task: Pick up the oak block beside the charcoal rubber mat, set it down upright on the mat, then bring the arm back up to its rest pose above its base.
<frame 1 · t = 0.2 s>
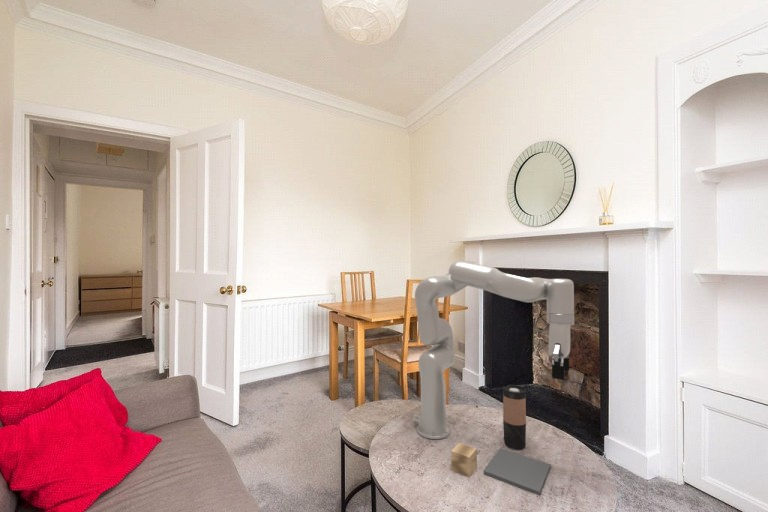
hand: (560, 374, 103), 31 cm above the table, tool pointing down, fingers open, 9 cm apart
oak block: (464, 468, 106), on the table
charcoal mat: (517, 470, 105), on the table
travel mug: (514, 445, 120), on the table
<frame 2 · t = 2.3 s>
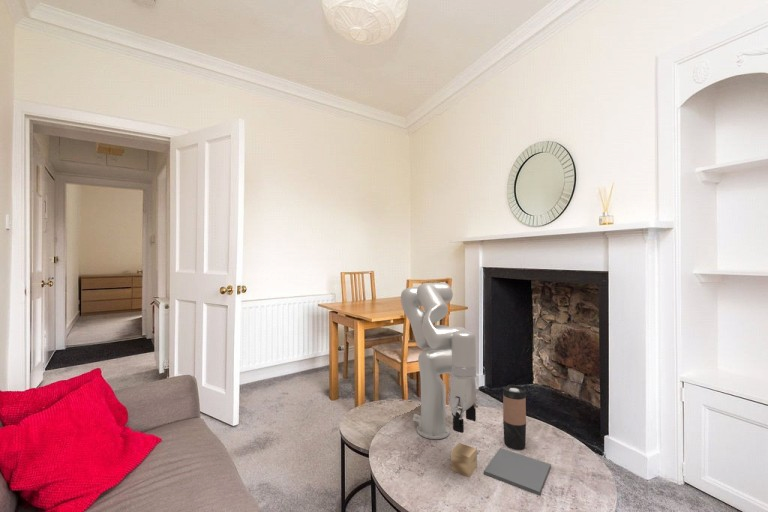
hand: (464, 425, 106), 14 cm above the table, tool pointing down, fingers open, 9 cm apart
nothing on the table moved.
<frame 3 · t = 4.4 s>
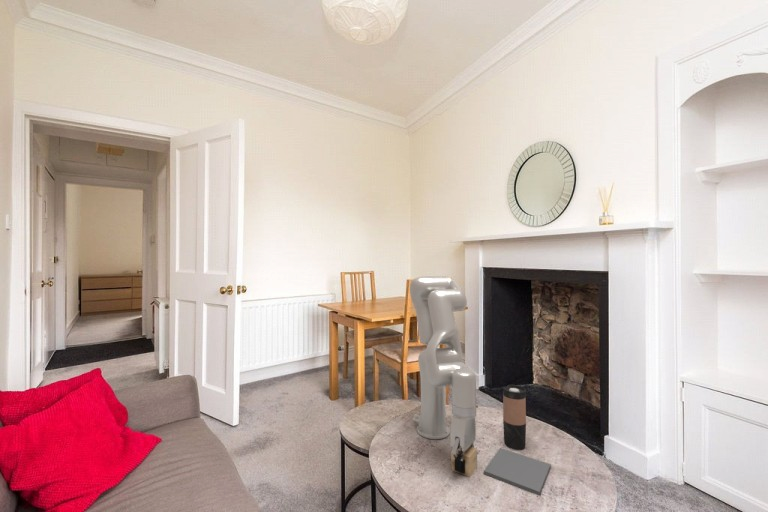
hand: (464, 466, 106), 1 cm above the table, tool pointing down, fingers closed on oak block, 6 cm apart
oak block: (464, 468, 106), on the table, touching gripper
everything else where it was.
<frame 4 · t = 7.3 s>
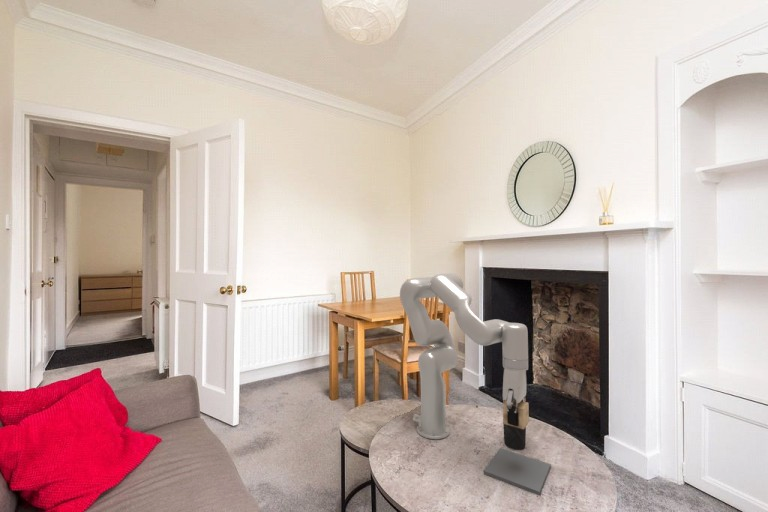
hand: (516, 420, 105), 16 cm above the table, tool pointing down, fingers closed on oak block, 6 cm apart
oak block: (516, 422, 105), point 15 cm above the table, touching gripper
everything else where it was.
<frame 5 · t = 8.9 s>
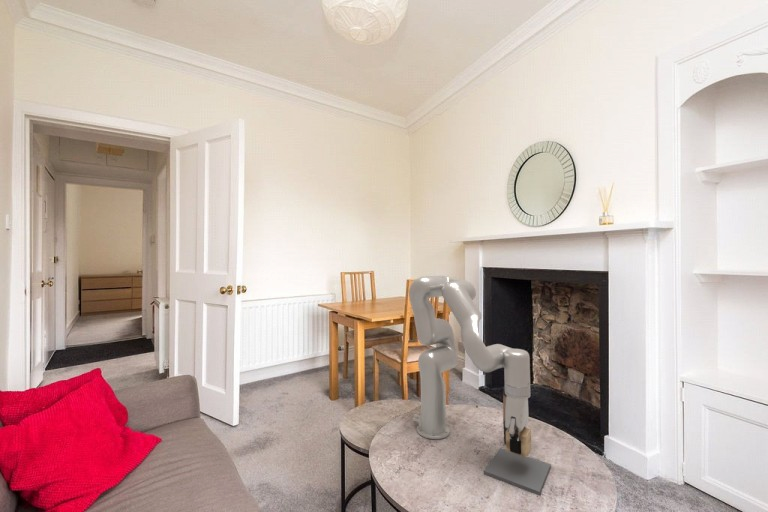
hand: (518, 447, 105), 7 cm above the table, tool pointing down, fingers closed on oak block, 6 cm apart
oak block: (518, 449, 105), point 7 cm above the table, touching gripper
everything else where it was.
when the fingers open (3 cm above the table, at t = 10.2 s): oak block drops 1 cm, resting on charcoal mat.
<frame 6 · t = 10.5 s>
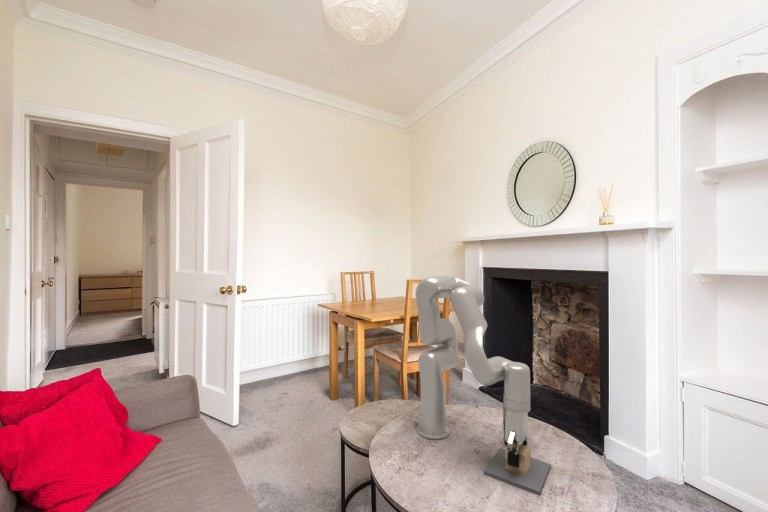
hand: (517, 458, 105), 4 cm above the table, tool pointing down, fingers open, 9 cm apart
oak block: (517, 467, 105), point 1 cm above the table, touching charcoal mat
everything else where it was.
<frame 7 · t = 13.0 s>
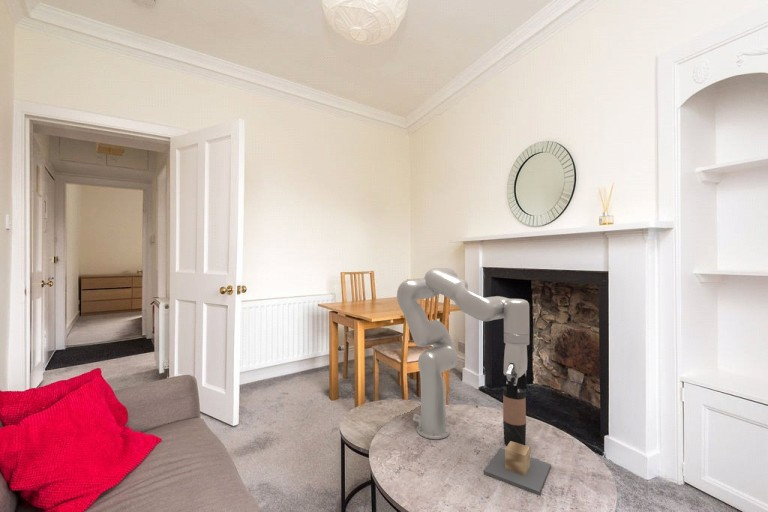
hand: (516, 392, 105), 24 cm above the table, tool pointing down, fingers open, 9 cm apart
nothing on the table moved.
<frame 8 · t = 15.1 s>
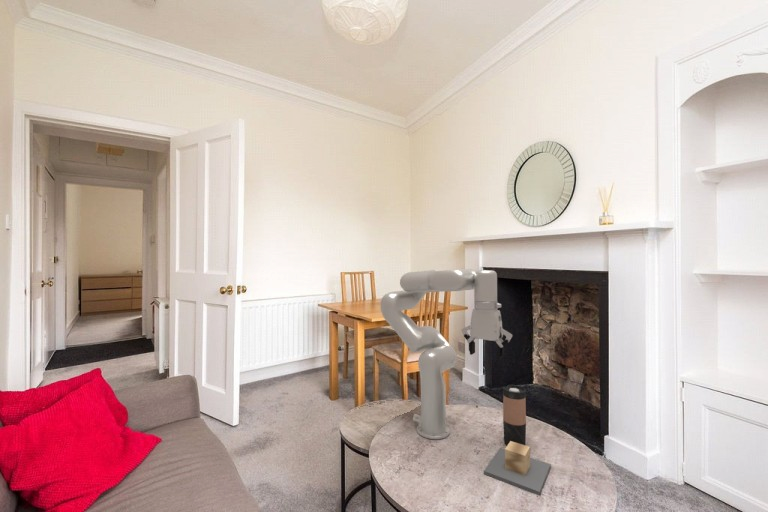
hand: (486, 356, 114), 33 cm above the table, tool pointing down, fingers open, 9 cm apart
nothing on the table moved.
at the end: oak block inside the target area on the charcoal mat (0.0 cm from its centre), point 1.0 cm above the charcoal mat's base; oak block tilted 0°; the gripper is holding nothing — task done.
